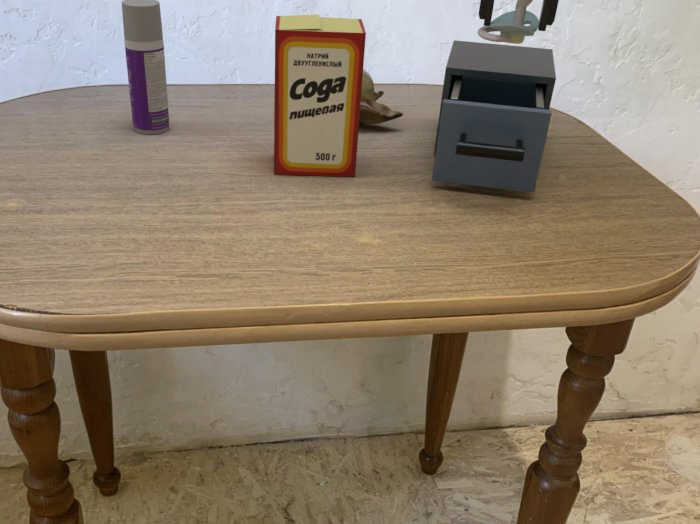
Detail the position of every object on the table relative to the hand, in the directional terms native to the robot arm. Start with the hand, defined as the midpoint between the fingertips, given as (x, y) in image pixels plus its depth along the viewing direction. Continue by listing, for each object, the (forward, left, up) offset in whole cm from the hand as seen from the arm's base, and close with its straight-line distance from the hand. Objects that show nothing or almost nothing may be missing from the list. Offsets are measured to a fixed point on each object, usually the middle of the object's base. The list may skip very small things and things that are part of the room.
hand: (514, 26), depth 81 cm
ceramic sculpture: (+20, -15, -17) cm, 31 cm away
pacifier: (+1, 0, -2) cm, 2 cm away
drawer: (0, 0, -16) cm, 16 cm away
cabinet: (0, -13, -17) cm, 21 cm away
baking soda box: (+20, +2, -17) cm, 27 cm away
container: (+43, -4, -17) cm, 47 cm away
